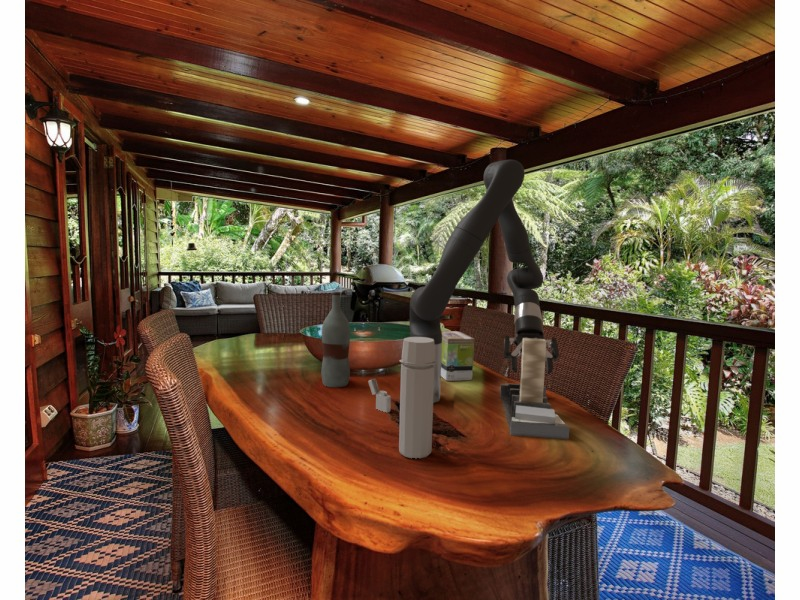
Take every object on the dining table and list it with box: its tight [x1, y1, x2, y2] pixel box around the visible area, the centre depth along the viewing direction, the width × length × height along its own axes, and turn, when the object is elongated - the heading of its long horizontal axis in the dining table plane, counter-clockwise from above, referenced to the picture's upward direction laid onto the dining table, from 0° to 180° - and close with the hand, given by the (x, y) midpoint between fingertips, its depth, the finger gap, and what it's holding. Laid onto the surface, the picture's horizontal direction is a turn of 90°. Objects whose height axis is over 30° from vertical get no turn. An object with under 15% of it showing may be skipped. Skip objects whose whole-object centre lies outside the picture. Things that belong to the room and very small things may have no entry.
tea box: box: [441, 330, 475, 382], centre depth 161 cm, size 15×10×15 cm, turn 13°
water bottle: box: [398, 336, 437, 460], centre depth 98 cm, size 9×8×25 cm
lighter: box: [367, 378, 392, 414], centre depth 125 cm, size 7×2×8 cm, turn 51°
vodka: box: [320, 291, 351, 388], centre depth 146 cm, size 9×9×30 cm
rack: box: [499, 382, 570, 440], centre depth 120 cm, size 13×31×6 cm, turn 172°
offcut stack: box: [512, 405, 566, 425], centre depth 109 cm, size 11×7×4 cm, turn 82°
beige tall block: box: [519, 338, 547, 403], centre depth 119 cm, size 6×3×20 cm, turn 82°
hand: (532, 371), depth 119 cm, fingers open, 8 cm apart
